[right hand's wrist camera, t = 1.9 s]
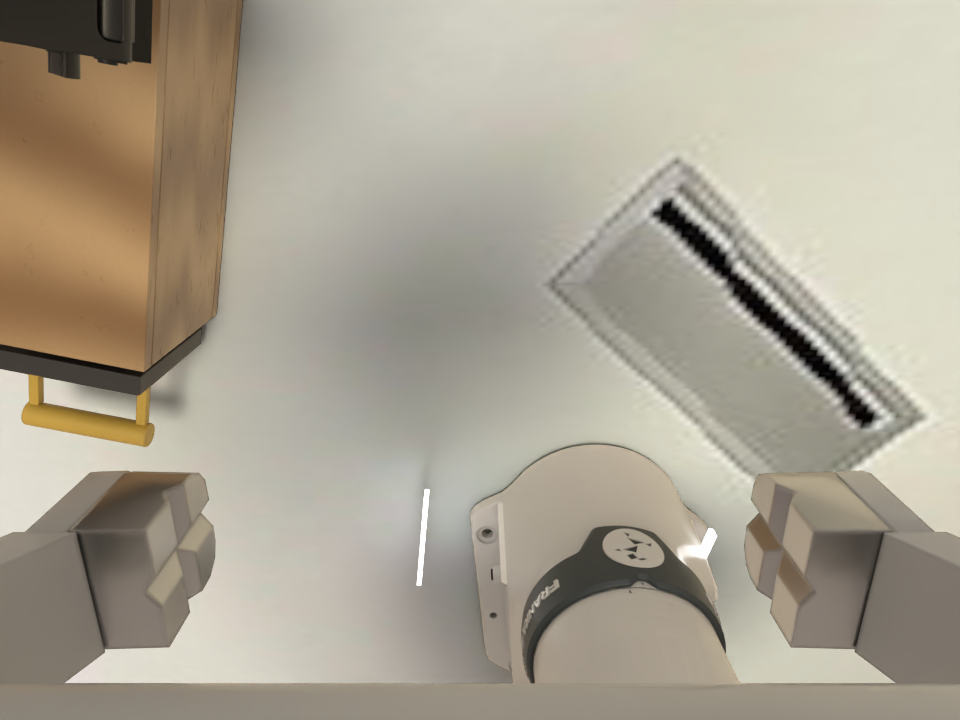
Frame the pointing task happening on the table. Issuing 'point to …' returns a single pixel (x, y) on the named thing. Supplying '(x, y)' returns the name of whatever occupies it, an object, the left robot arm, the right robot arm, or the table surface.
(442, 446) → the table surface
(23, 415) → the drawer
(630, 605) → the right robot arm
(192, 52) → the cabinet
